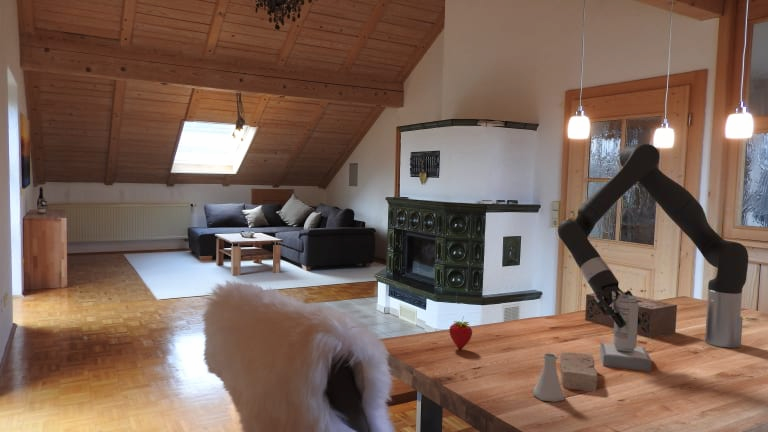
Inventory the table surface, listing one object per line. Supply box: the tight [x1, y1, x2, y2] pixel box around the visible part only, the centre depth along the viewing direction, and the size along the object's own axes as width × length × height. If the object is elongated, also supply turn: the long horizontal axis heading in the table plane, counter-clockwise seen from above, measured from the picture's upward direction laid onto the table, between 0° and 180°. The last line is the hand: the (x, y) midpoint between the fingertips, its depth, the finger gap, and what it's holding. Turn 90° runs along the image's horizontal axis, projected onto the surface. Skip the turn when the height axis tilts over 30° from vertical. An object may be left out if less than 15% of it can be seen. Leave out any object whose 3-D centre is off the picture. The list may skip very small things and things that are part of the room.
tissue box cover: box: [584, 292, 678, 339], centre depth 192 cm, size 26×14×10 cm, turn 31°
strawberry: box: [448, 315, 473, 350], centre depth 161 cm, size 6×8×10 cm
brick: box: [559, 351, 598, 393], centre depth 139 cm, size 17×8×5 cm, turn 163°
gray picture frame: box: [599, 342, 652, 372], centre depth 153 cm, size 12×12×3 cm
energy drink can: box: [612, 295, 639, 351], centre depth 152 cm, size 6×6×15 cm
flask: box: [533, 352, 565, 403], centre depth 126 cm, size 7×7×10 cm
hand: (631, 324), depth 151 cm, fingers closed on energy drink can, 6 cm apart
